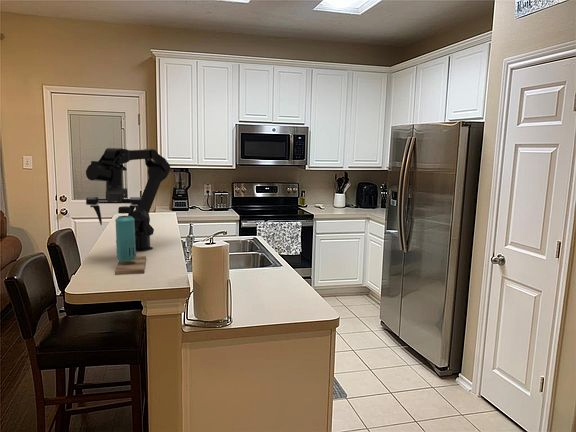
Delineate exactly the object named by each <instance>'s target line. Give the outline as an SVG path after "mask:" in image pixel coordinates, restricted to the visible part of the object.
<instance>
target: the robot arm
mask: <svg viewBox="0 0 576 432" xmlns="http://www.w3.org/2000/svg"><path fill="white" fill-rule="evenodd" d="M133 160H134V161H137V160H144V164H145V166H146V167H147V175H148V179H147V182H146V185H145V187H144V189H143V192H142V194H141V196H139V197H137V196H132V197H131V196H130V197H129V198H128V188H126V187H125V188H124V187H123V185H124V184H123V180H124V179H123V172H126V171H127V170H128V169H127V167H126V166H124V164H126V163H129V162H130V161H133ZM170 172H171V164H170V163H169V162H168V160H167V159H166V158H165V157H164V156H161V154H159V153H158V151H157V150H156V149H154V148H144V149H127V148H121V147H120V148H119V147H118V148H117V147H107V148H105V150H104V152H103V154H101V157H100V158H99V160H98V161H96V160H92V161H90V164H89V165H88V166H87V168H86V170H85V175H86V177H87V179H88V180H89V181H95V182H105V198H99V197H98V196H87V197H85V198H86V199H85V205H87V206H89V207H90V208H93V210H94V212H95V213H96V216H97V219H98V221H99V224H100V226H102V225H103V220H102V213H101V206H100V204H129V206H128V207H130V208H131V213H127V216H132V217H133V218H134V219H135V221H134V223H135V235H136V236H135V241H136V242H135V246H136V252H142V251H149V250H152V249H153V247H152V246H151V236H152V235H153V234H154V230H155V229H154V227H153V226H152V225H151V218H150V211H151V208H152V205H153V203H154V201H155V197H156V195H157V192H158V190H159V188H160V185H161V183H162V182H163V181H164V180H166V179H167V178H168V176H169V173H170ZM140 197H141V198H140ZM137 205H138V206H137ZM135 207H137V209H136V208H135Z"/></svg>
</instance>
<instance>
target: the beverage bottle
mask: <svg viewBox="0 0 576 432" xmlns="http://www.w3.org/2000/svg"><path fill="white" fill-rule="evenodd" d="M117 213H118V214H126V215H118V217H116V218H115V238H116V239H115V244H116V246H115V248H116V259H117V260H118V262H119V261H131V260H134V259H135V258H136V256H137V251H136V246H135V242H136V241H135V236H136V235H135V223H134V221H135V219H134V218H133V217H132V216H128V215H127V214H128V213H131V208H130V207H129V206H128V205H127V206H126V205H125V206H118V211H117Z"/></svg>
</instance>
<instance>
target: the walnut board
mask: <svg viewBox="0 0 576 432" xmlns="http://www.w3.org/2000/svg"><path fill="white" fill-rule="evenodd" d="M146 262H147V255H136V258H135V259H134V260H131V261H119V260H118V261H117V265H116V267H115V270H114V275H116V276H117V275H133V274H134V275H135V274H136V275H137V274H139V275H140V274H144V273H145V267H146Z"/></svg>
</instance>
